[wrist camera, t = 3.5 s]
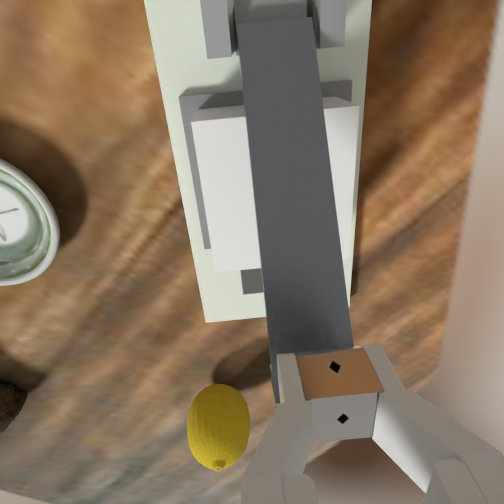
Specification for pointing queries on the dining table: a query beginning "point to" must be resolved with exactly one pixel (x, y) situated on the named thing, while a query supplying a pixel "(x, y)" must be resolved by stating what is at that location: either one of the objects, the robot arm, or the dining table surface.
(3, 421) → the dark brown long bar
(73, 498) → the dining table surface
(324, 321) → the strap
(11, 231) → the saucer
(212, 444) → the lemon
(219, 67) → the board
